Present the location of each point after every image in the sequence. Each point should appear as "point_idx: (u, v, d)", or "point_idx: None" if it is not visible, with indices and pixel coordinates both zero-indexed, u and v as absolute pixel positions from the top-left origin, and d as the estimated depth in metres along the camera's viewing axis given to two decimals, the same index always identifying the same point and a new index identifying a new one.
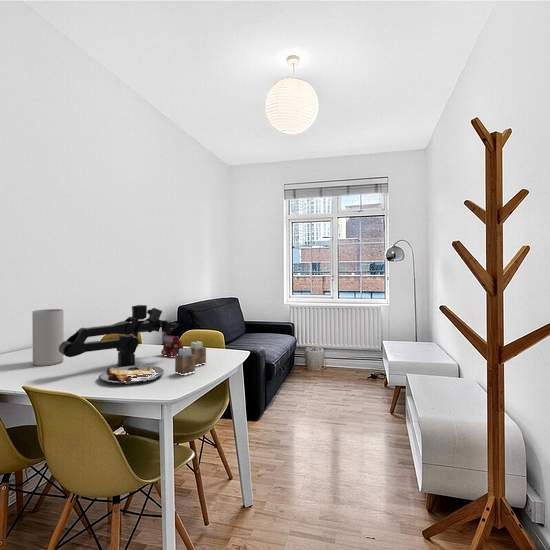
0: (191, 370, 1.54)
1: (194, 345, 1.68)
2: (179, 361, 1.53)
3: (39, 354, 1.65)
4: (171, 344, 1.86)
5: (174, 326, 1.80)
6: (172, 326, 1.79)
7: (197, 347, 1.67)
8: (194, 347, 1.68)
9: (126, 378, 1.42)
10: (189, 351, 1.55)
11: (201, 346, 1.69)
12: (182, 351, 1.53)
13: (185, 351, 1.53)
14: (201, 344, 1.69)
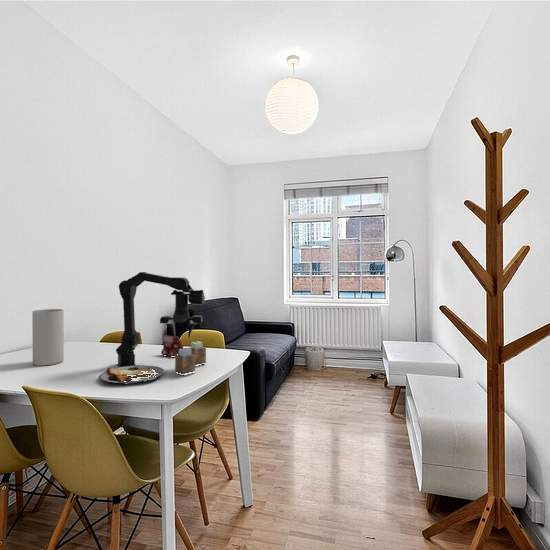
0: (191, 370, 1.54)
1: (194, 345, 1.68)
2: (179, 361, 1.53)
3: (39, 354, 1.65)
4: (171, 344, 1.86)
5: None
6: None
7: (197, 347, 1.67)
8: (194, 347, 1.68)
9: (126, 378, 1.42)
10: (189, 351, 1.55)
11: (201, 346, 1.69)
12: (182, 351, 1.53)
13: (185, 351, 1.53)
14: (201, 344, 1.69)
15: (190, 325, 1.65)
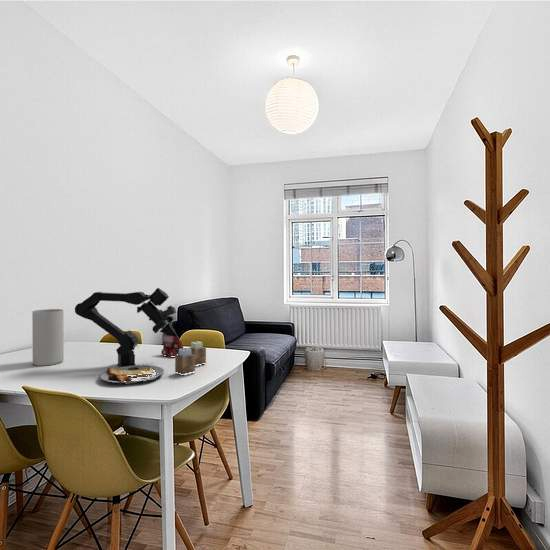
0: (191, 370, 1.54)
1: (194, 345, 1.68)
2: (179, 361, 1.53)
3: (39, 354, 1.65)
4: (171, 344, 1.86)
5: (170, 332, 1.67)
6: (168, 330, 1.67)
7: (197, 347, 1.67)
8: (194, 347, 1.68)
9: (126, 378, 1.42)
10: (189, 351, 1.55)
11: (201, 346, 1.69)
12: (182, 351, 1.53)
13: (185, 351, 1.53)
14: (201, 344, 1.69)
15: (171, 323, 1.70)
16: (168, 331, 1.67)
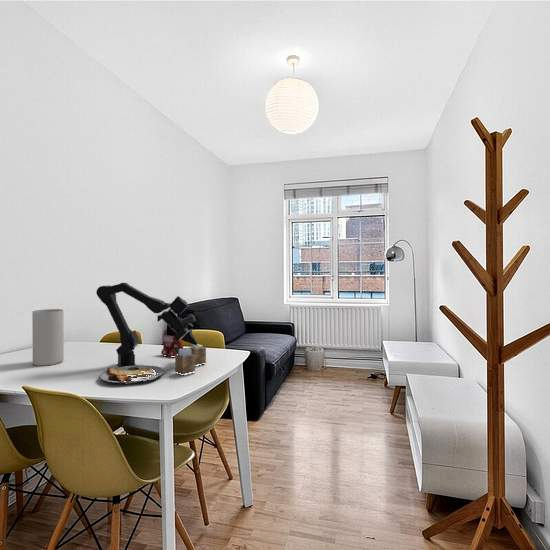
0: (191, 370, 1.54)
1: (194, 348, 1.68)
2: (179, 361, 1.53)
3: (39, 354, 1.65)
4: (171, 344, 1.86)
5: (191, 340, 1.68)
6: (189, 338, 1.68)
7: None
8: None
9: (126, 378, 1.42)
10: (189, 351, 1.55)
11: None
12: (182, 351, 1.53)
13: (185, 351, 1.53)
14: (201, 347, 1.69)
15: (191, 331, 1.70)
16: (188, 339, 1.68)
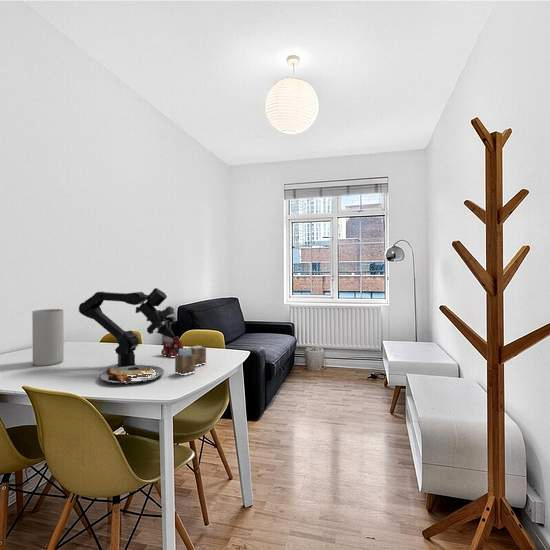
0: (191, 370, 1.54)
1: None
2: (179, 361, 1.53)
3: (39, 354, 1.65)
4: (171, 344, 1.86)
5: (167, 333, 1.64)
6: (166, 331, 1.64)
7: None
8: None
9: (126, 378, 1.42)
10: (189, 351, 1.55)
11: None
12: (182, 351, 1.53)
13: (185, 351, 1.53)
14: None
15: (169, 324, 1.66)
16: (165, 332, 1.64)
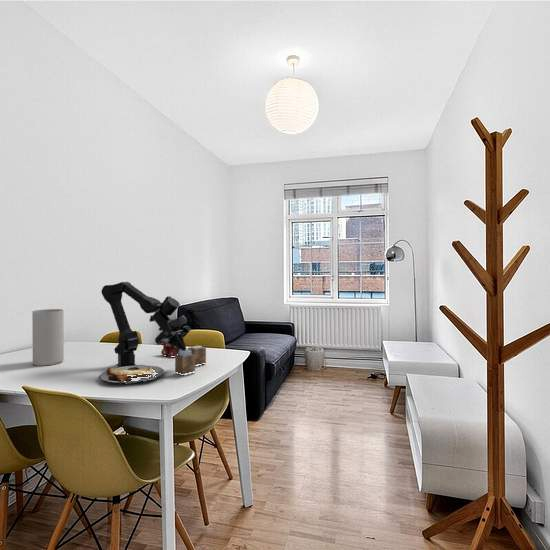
0: (191, 370, 1.54)
1: None
2: (179, 361, 1.53)
3: (39, 354, 1.65)
4: None
5: (178, 344, 1.55)
6: (177, 342, 1.55)
7: None
8: None
9: (126, 378, 1.42)
10: (189, 352, 1.55)
11: None
12: (182, 352, 1.53)
13: (185, 352, 1.53)
14: None
15: (181, 334, 1.57)
16: (176, 343, 1.55)
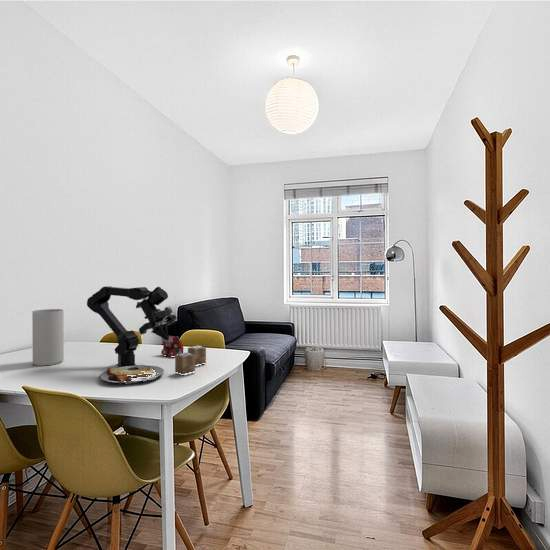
0: (191, 370, 1.54)
1: None
2: (179, 361, 1.53)
3: (39, 354, 1.65)
4: (171, 344, 1.86)
5: (161, 335, 1.61)
6: (160, 332, 1.61)
7: None
8: None
9: (126, 378, 1.42)
10: None
11: None
12: None
13: None
14: None
15: (166, 325, 1.62)
16: (160, 333, 1.61)
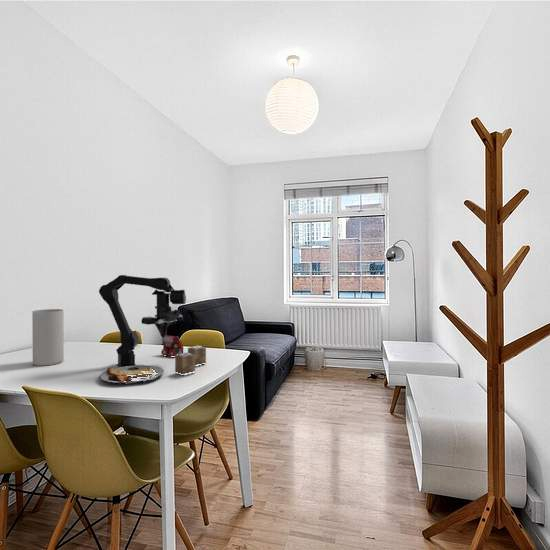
0: (191, 370, 1.54)
1: None
2: (179, 361, 1.53)
3: (39, 354, 1.65)
4: (171, 344, 1.86)
5: (160, 330, 1.68)
6: (160, 328, 1.68)
7: None
8: None
9: (126, 378, 1.42)
10: None
11: None
12: None
13: None
14: None
15: (168, 324, 1.68)
16: (159, 328, 1.68)
